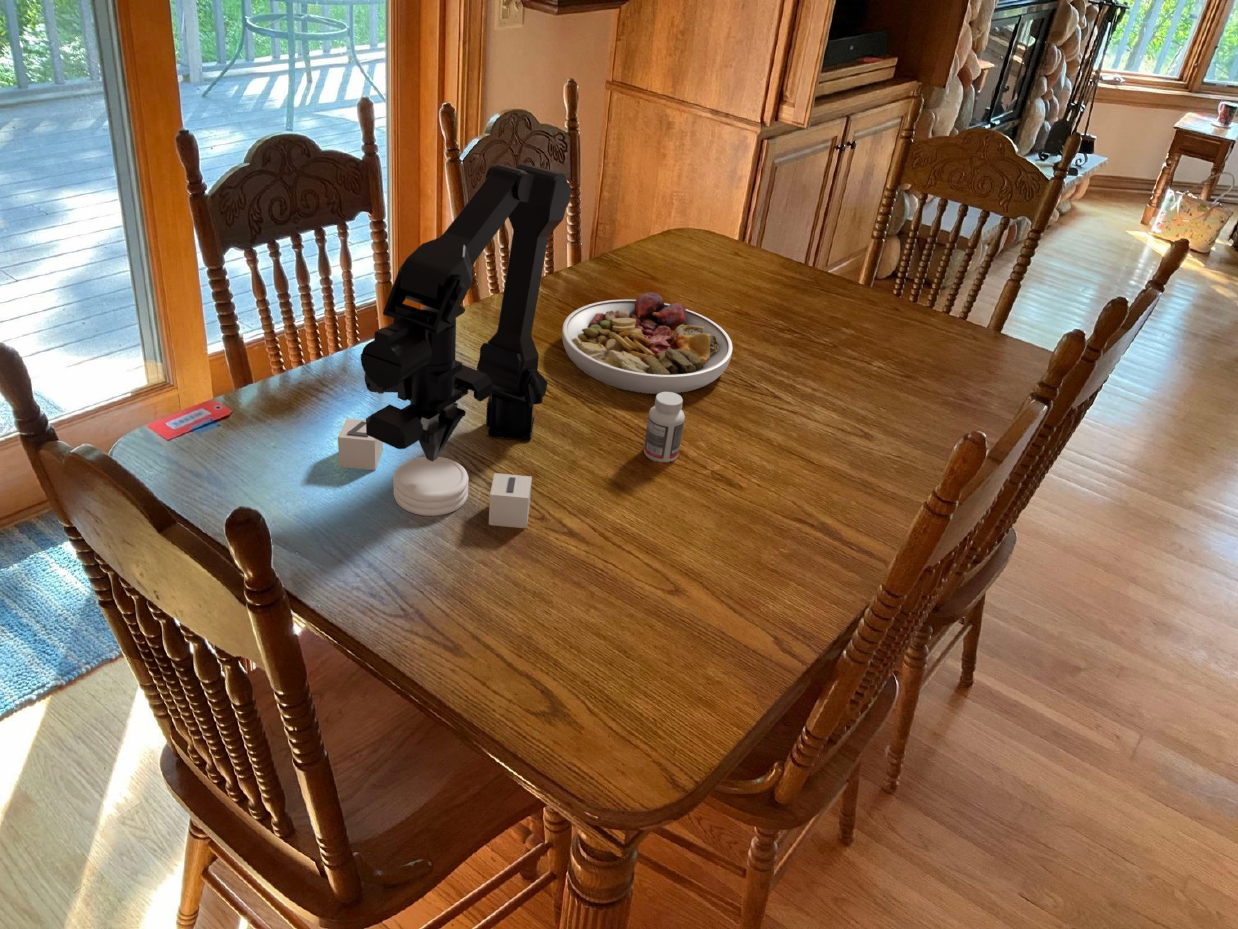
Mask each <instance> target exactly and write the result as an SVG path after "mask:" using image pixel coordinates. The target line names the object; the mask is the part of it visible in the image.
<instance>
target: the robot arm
mask: <svg viewBox="0 0 1238 929" xmlns="http://www.w3.org/2000/svg"><path fill="white" fill-rule="evenodd" d="M484 178H485V179H484V181H483V183H482V184H481V185H480V186H479V187H478V189H477V190H476V192H474V194H473V195H472V196H471V198H470V199H469V201H468V202H466V204H465V205H464V207H463V208H462V210H460V212H459V213H458V215H457V216H456V217H455V218H454V219H453V221H452V222H451V224H450V225H449V226H448V227H447V228H446V229H445V231H444V232H443V233H442V235H440V236H439V237H437V238H435V239H431V240H428V241H426V242H423V243H422V244H420V246H418V247H417V248H416V249H415V250H414V251H412V252H411V254H409V256H407V258H405V260H404V261H403V263H402V264H401V265H400V267H399V269H398V271H397V274H396V276H395V280H394V282H393V285H392V287H391V289H390V290H391V291H390V293H389V295H388V297H387V301H386V303H385V306H384V308H383V311H382V315H383V316H385V317H387V318H391V319H393V323H391V324H388V325H387V326H385V327H381V328H379V329H377V330H375V332H374V333H373V334H374V335H373V336H374V339H373V340H372V341H370V342H368V343H367V344H365V346H364V347H363V348H362V352H361V353H360V364H361V367H362V370H363V371H364V383H365V386H366V390H367V391H369V392H370V393H377V394H380V395H381V394H382V395H383V394H384V393H397V398H398V399H400V400H401V401H404V402H406V401H409V402H410V404H407V405H406V406H404V407H402V408H399V407H397V406H395V405H392V404H388V405H386V406H384V407H383V408H381V409H379V410H377V411H376V412H373V413H372V414H370V415H369V416H367V417H366V418H365V420H366V434H367V435H368V436H370V437H373V438H375V439H377V440H379V441H381V442H383V444H386V445H388V446H390V447H393V448H394V449H397V450H405V449H407V448H409V447H410V446H412V445H413V444H415V443H417V442H418V441H419V442H418V443H419V445H420V447H421V449H422V451H423V454H424V457H425V456H426V458H427V459H428V460H430V461H432V462H433V461H434V460H436V459H437V458H438V457H440V454H441V452H442V451H443V449H444V447H445V445H446V444H447V442H448V441H449V439H450V437H451V435H452V434H453V433H454V430H455V429H456V428H457V426H458V425H459V423H460V422H461V420H462V418H464V417H465V416H466V413H467V412H466V410H464V409H462V408H460V407H458V406H459V405H458V403H457V401H459V400H460V399H462V398H463V397H465V396H466V395H468V394H469V390H470V391H471V392H473V399H475V400H476V401H477V402H480V403H481V402H482V401H484V400H485V399H487V398H488V399H487V402H486V416H485V417H486V419H485V421H486V422H485V426H486V427H487V428H488V430H487V437H490V438H498V439H508V440H516V441H517V440H519V441H531V440H532V434H533V429H534V424H535V423H534V422H535V417H534V407H535V405H541V404H543V398H544V397H545V395H546V392H547V387H548V385H549V384H548V381H547V380H546V379H545V377H544V376H543V375H542V374H541V373H540V372H539V371H538V369H539V368H538V367H539V353H538V350H537V347H536V345H535V342H534V340H533V337H532V333H533V327H534V321H535V316H536V315H535V314H536V310H537V304H538V297H539V294H540V293H539V292H540V286H541V281H542V276H543V269H544V264H545V259H546V258H545V257H546V254H547V247H548V241H549V238H550V237H549V236H550V235H551V234H552V232H554V231H555V230H556V228H557V227H558V226H559V225H560V224H561V222H562V221H563V220H564V218H565V213H566V211H567V210H566V209H567V208H568V206H569V203H570V202H571V198H572V186H571V185H570V184H571V183H570V182H568V180H567V176H566V175H565V173H562V172H558V171H555V170H551V169H547V168H543V167H539V166H536V165H532V164H528V163H525V162H523V163H519V164H518V165H517V166H516V167H512V166H510V165H505V164H502V163H498V164H492V165H491V166H489V168H488V170H487V172H486V174H485V177H484ZM507 219H508V220H509V223H510V226H511V228H512V237H511V244H510V251H509V256H508V262H507V269H506V275H505V282H504V288H503V293H502V298H501V299H502V300H501V304H500V305H501V306H500V311H499V312H500V313H499V318H498V325H497V329H496V332H495V333H494V334H493V335H492V337H490V339H489V340H488V341H487V342H483V343H482V344H481V346H480V347H479V349H480V350H479V358H478V359H479V360H478V363H477V364H476V365H477V366H476V369H475V368H473V367H470V366H468V365H464V364H463V362H461V361H458V360H456V344H457V343H456V342H457V338H456V337H457V336H456V335H457V318H458V317H459V316H461V315H463V314H464V313H465V312H466V308H465V307H464V306H463V305H462V303H463V302H464V300H465V298H466V296H467V295H468V294H467V293H468V292H469V289H470V287H471V286H472V284H473V267H474V265H475V263H476V262H477V259H478V258H479V257H480V256H481V254H482V253H483V251H484V250H485V249H486V248H487V247H488V245H489V243H490V242H491V241H492V240H493V238H494V237H495V235H496V234H497V233H498V232H499V230H500V229H501V227H502V226H503V224H504V223H505V222H506V221H507ZM405 300H407V301H409V302H413V303H415V304H419V305H422V306H424V307H422V308H421V309H420V308H417V307H415V306H412V305H408V304H405V303H404V302H405Z"/></svg>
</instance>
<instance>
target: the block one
mask: <svg viewBox="0 0 1238 929" xmlns="http://www.w3.org/2000/svg"><path fill="white" fill-rule="evenodd" d="M532 479H533V476H529V475H521V474H520V475H518V474H510V473H509V474H508V473H498V472H494V474H493V478H492V483H491V489H490V491H489V492H490V493H489V508H488V510H489V512H488V526H497V527H498V526H499V527H506V528H507V527H508V528H516V529H517V528H520V529H527V527H528V520H529V513H530V507H531V494H532Z"/></svg>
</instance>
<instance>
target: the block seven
mask: <svg viewBox="0 0 1238 929" xmlns="http://www.w3.org/2000/svg"><path fill="white" fill-rule="evenodd" d="M337 444H338V445H337V448H338V449H337V450H338V464H339V466H338V467H339V468H345V469H346V468H347V469H357V470H358V469H359V470H367V471H369V470H370V471H376V470H377V468H378V465H379V462H380V459H381V458H382V454H383V452H384V445H383V444H384V442H381V441H379V440H377V439H375V438H373V437H370V436H368V435H367V434H366V419H356V418H346V419H345V421H344V423H343V425H342V428H341V430H340V431H339V433H338V436H337Z"/></svg>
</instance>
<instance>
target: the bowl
mask: <svg viewBox="0 0 1238 929" xmlns="http://www.w3.org/2000/svg"><path fill="white" fill-rule="evenodd" d="M561 336H562V343H563V347H564V349H565V353H566V354H567V356H568V357H569V359H570V360H571V361H572V362H573V364H575V366H576V367H577V368H578V369H579V370H581V371H582V372H583V373H584V374H586V375H587V376H589V377H591V378H593V379H594V380H597V381H599V382H601V383H603V384H606V385H608V386H611V387H614V388H616V389H622V390H625V391H628V390H629V392H633V391H634V393H640V392H641V394H642V393H643V394H649V393H650V394H651V395H657V394H659V393H661V392H673V393H676V394H681V392H682V393H687V392H690V391H695V390H698V389H700V388H703V387H706V386H707V385H709V384H711V383H713V382H714V381H715V380H717V379H718V378H719V377H721V375H722V374H723V373H724V372H725V371H726V370H727V367H728V366H729V364H730V362H731V358H732V354H733V342H732V340H731V338H730V335H729V334H728V333H727V332H726V331H725V330H724V329H723V328H722V327H721V326H720V325H718V324H717V323H716V322H714V321H713V320H711V319H709V318H708V317H706V316H704V315H702V314H700V313H697V312H695V311H692V310H690V309H687V308H685V305H683V304H681V303H680V302H673V303H671V304H670V303H665V302H664V299H663V297H662V296H661V295H660V294H658V293H657V292H654V291H649V292H643V293H642V294H640V295H638V297H636V299H610V300H604V301H597V302H593V303H590V304H586V305H583V306H582V307H579V308H577V309H576V310H574V311H573V312H571V313H570V314H569V315H568V316H567V317H566V318H565V320H564V322H563V324H562V332H561Z"/></svg>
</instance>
